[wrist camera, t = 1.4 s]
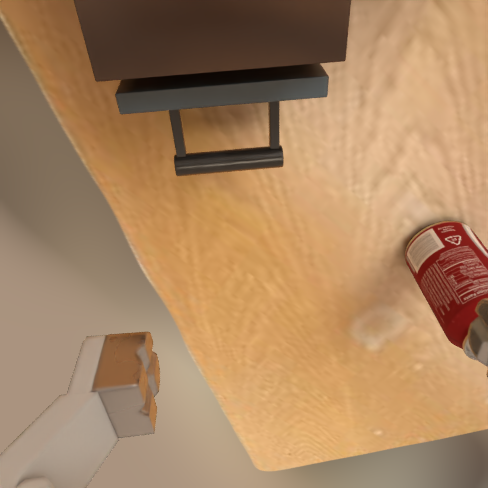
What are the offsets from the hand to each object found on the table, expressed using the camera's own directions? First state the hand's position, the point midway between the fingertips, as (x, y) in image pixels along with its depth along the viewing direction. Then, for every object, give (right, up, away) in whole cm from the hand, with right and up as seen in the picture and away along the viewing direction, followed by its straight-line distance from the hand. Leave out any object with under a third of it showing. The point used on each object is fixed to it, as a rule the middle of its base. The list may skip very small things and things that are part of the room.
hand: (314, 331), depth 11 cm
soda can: (+17, +2, +32) cm, 37 cm away
